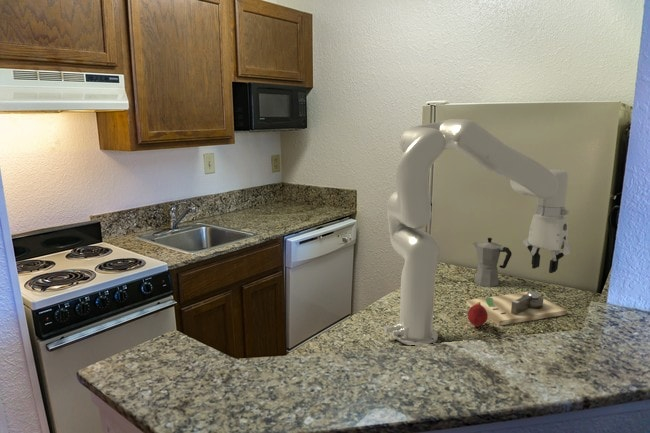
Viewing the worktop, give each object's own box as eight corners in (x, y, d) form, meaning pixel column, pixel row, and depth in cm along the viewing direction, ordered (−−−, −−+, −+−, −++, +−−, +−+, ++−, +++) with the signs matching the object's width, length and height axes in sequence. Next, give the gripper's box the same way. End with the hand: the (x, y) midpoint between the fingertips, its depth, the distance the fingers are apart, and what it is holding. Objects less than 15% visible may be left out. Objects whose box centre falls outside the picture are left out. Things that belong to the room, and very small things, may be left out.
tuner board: (499, 325, 143) (499, 320, 143) (466, 304, 159) (466, 299, 158) (566, 314, 151) (566, 309, 150) (528, 295, 167) (529, 290, 166)
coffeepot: (464, 281, 181) (467, 236, 177) (477, 275, 187) (480, 232, 183) (502, 292, 170) (506, 244, 166) (514, 285, 176) (518, 240, 172)
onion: (487, 331, 139) (489, 306, 137) (467, 330, 140) (469, 305, 138) (485, 323, 144) (487, 299, 143) (466, 321, 146) (467, 297, 144)
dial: (528, 299, 158) (529, 288, 158) (546, 305, 154) (547, 293, 153) (504, 310, 150) (505, 298, 149) (522, 317, 145) (524, 304, 144)
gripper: (585, 214, 133) (578, 274, 137) (529, 205, 146) (524, 260, 150) (573, 218, 129) (566, 280, 133) (516, 208, 142) (511, 265, 146)
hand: (543, 269), depth 142 cm, fingers open, 4 cm apart
